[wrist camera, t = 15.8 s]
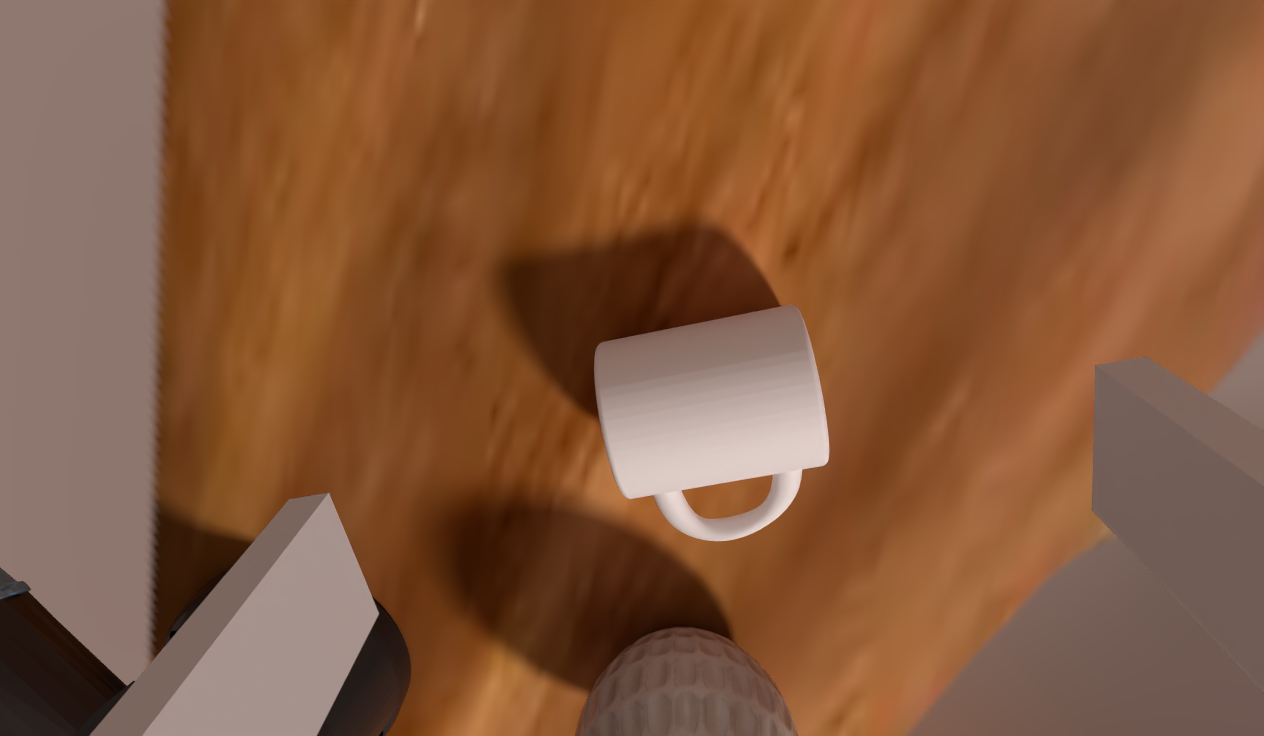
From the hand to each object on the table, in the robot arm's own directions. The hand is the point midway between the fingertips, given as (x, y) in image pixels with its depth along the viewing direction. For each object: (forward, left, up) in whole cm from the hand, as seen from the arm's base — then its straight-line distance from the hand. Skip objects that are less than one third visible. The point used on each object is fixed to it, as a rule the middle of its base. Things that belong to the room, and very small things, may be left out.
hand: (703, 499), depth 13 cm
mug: (0, -11, -27) cm, 29 cm away
